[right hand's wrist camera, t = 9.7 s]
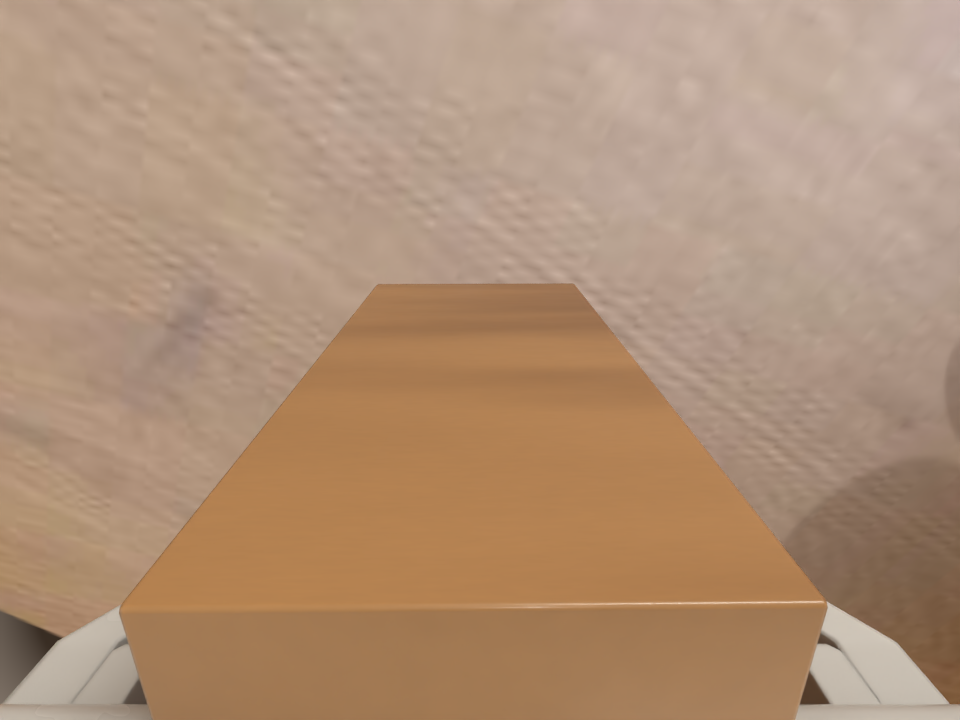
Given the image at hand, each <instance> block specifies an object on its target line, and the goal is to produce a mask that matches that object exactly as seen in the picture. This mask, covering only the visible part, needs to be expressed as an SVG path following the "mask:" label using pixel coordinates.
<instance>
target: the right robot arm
mask: <svg viewBox="0 0 960 720" xmlns="http://www.w3.org/2000/svg"><path fill="white" fill-rule="evenodd" d="M826 602H827V601H826ZM120 606H121V605H119V606H118V607H116V608H114V609H112V610H111V611H109V612H107V613H106V614H104V615H102V616H100V617H99V618H97V619H95V620H93V621H92V622H90V623H88V624H86V625H85V626H83V627H81V628H80V629H78V630H76V631H74V632H73V633H71V634H69V635H67V636H66V637H64V638H62V639H61V640H59V641H57V642H56V643H55V645H54V646H53V647H52V648H51V649H50V650H49V651H48V653H47V654H46V655H45V656H44V657H43V658H42V659H41V660H40V662H39V663H38V664H37V665H36V666H35V667H34V668H33V669H32V671H31V672H30V673H29V674H28V675H27V676H26V677H25V679H24V680H23V681H22V682H21V683H20V684H19V685H18V686H17V688H16V689H15V690H14V691H13V692H12V693H11V694H10V696H9V697H8V698H7V699H6V700H5V701H4V702H3V704H0V720H152V718H151V715H150V712H149V708H148V705H147V702H146V699H145V695H144V692H143V689H142V686H141V683H140V679H139V676H138V673H137V670H136V666H135V663H134V660H133V657H132V654H131V650H130V647H129V644H128V641H127V637H126V634H125V631H124V628H123V625H122V621H121V618H120V615H119V609H120ZM827 606H828V609H827V612H826V616H825V619H824V623H823V626H822V629H821V633H820V636H819V640H818V643H817V647H816V650H815V653H814V657H813V660H812V664H811V667H810V671H809V674H808V677H807V681H806V684H805V688H804V691H803V695H802V698H801V701H800V705H799V708H798V712H797V715H796V719H795V720H960V704H950V703H949V702H948V701H947V700H946V699H945V698H944V697H943V695H942V694H941V693H940V692H939V691H938V690H937V688H936V687H935V686H934V685H933V684H932V683H931V682H930V680H929V679H928V678H927V677H926V676H925V675H924V673H923V672H922V671H921V670H920V669H919V668H918V666H917V665H916V664H915V663H914V662H913V661H912V660H911V658H910V657H909V656H908V655H907V654H906V653H905V651H904V650H903V649H902V648H901V647H900V646H899V644H898V643H897V642H895V641H894V640H892V639H890V638H888V637H887V636H885V635H883V634H882V633H880V632H878V631H877V630H875V629H873V628H871V627H870V626H868V625H866V624H865V623H863V622H861V621H859V620H858V619H856V618H854V617H853V616H851V615H849V614H848V613H846V612H844V611H842V610H841V609H839V608H837V607H836V606H834V605H832V604H830V603H829V602H827Z"/></svg>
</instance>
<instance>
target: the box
mask: <svg viewBox="0 0 960 720" xmlns="http://www.w3.org/2000/svg"><path fill="white" fill-rule="evenodd" d="M827 609H828V606H827V602H826V600H825V598H824V597H823V596H822V595H821V593H820V592H819V591H818V590H817V588H816V587H815V586H814V585H813V583H812V582H811V581H810V580H809V578H808V577H807V576H806V575H805V573H804V572H803V571H802V570H801V568H800V567H799V566H798V565H797V563H796V562H795V561H794V559H793V558H792V557H791V556H790V554H789V553H788V552H787V551H786V549H785V548H784V547H783V546H782V544H781V543H780V542H779V541H778V539H777V538H776V537H775V536H774V534H773V533H772V532H771V531H770V529H769V528H768V527H767V526H766V524H765V523H764V522H763V521H762V519H761V518H760V517H759V516H758V514H757V513H756V512H755V511H754V509H753V508H752V507H751V506H750V504H749V503H748V502H747V501H746V499H745V498H744V497H743V495H742V494H741V493H740V492H739V490H738V489H737V488H736V487H735V485H734V484H733V483H732V482H731V480H730V479H729V478H728V477H727V475H726V474H725V473H724V472H723V470H722V469H721V468H720V467H719V465H718V464H717V463H716V462H715V460H714V459H713V458H712V457H711V455H710V454H709V453H708V452H707V450H706V449H705V448H704V447H703V445H702V444H701V443H700V442H699V440H698V439H697V438H696V436H695V435H694V434H693V433H692V431H691V430H690V429H689V428H688V426H687V425H686V424H685V423H684V421H683V420H682V419H681V418H680V416H679V415H678V414H677V413H676V411H675V410H674V409H673V408H672V406H671V405H670V404H669V403H668V401H667V400H666V399H665V398H664V396H663V395H662V394H661V393H660V391H659V390H658V389H657V388H656V386H655V385H654V384H653V383H652V381H651V380H650V379H649V378H648V376H647V375H646V374H645V372H644V371H643V370H642V369H641V367H640V366H639V365H638V364H637V362H636V361H635V360H634V359H633V357H632V356H631V355H630V354H629V352H628V351H627V350H626V349H625V347H624V346H623V345H622V344H621V342H620V341H619V340H618V339H617V337H616V336H615V335H614V334H613V332H612V331H611V330H610V329H609V327H608V326H607V325H606V324H605V322H604V321H603V320H602V319H601V317H600V316H599V315H598V314H597V312H596V311H595V310H594V308H593V307H592V306H591V305H590V303H589V302H588V301H587V300H586V298H585V297H584V296H583V295H582V293H581V292H580V291H579V290H578V288H577V287H576V286H575V285H574V284H378V285H377V286H376V287H375V288H374V289H373V291H372V292H371V293H370V294H369V296H368V297H367V298H366V299H365V301H364V302H363V303H362V304H361V306H360V307H359V308H358V309H357V311H356V312H355V313H354V314H353V316H352V317H351V318H350V319H349V321H348V322H347V323H346V324H345V326H344V327H343V328H342V329H341V331H340V332H339V333H338V334H337V336H336V337H335V338H334V339H333V341H332V342H331V343H330V344H329V346H328V347H327V348H326V349H325V351H324V352H323V353H322V354H321V356H320V357H319V358H318V359H317V361H316V362H315V363H314V364H313V366H312V367H311V368H310V369H309V371H308V372H307V373H306V374H305V376H304V377H303V378H302V379H301V381H300V382H299V383H298V384H297V386H296V387H295V388H294V389H293V391H292V392H291V393H290V394H289V396H288V397H287V398H286V399H285V401H284V402H283V403H282V404H281V406H280V407H279V408H278V409H277V411H276V412H275V413H274V414H273V416H272V417H271V418H270V419H269V421H268V422H267V423H266V424H265V426H264V427H263V428H262V429H261V431H260V432H259V433H258V434H257V436H256V437H255V438H254V439H253V441H252V442H251V443H250V444H249V446H248V447H247V448H246V449H245V451H244V452H243V453H242V454H241V456H240V457H239V458H238V459H237V461H236V462H235V463H234V464H233V466H232V467H231V468H230V469H229V471H228V472H227V473H226V474H225V476H224V477H223V478H222V479H221V481H220V482H219V483H218V484H217V486H216V487H215V488H214V489H213V491H212V492H211V493H210V494H209V496H208V497H207V498H206V499H205V501H204V502H203V503H202V504H201V506H200V507H199V508H198V509H197V511H196V512H195V513H194V514H193V516H192V517H191V518H190V519H189V521H188V522H187V523H186V524H185V526H184V527H183V528H182V529H181V531H180V532H179V533H178V534H177V536H176V537H175V538H174V539H173V541H172V542H171V543H170V544H169V546H168V547H167V548H166V549H165V551H164V552H163V553H162V554H161V556H160V557H159V558H158V559H157V561H156V562H155V563H154V564H153V566H152V567H151V568H150V569H149V571H148V572H147V573H146V574H145V576H144V577H143V578H142V579H141V581H140V582H139V583H138V584H137V586H136V587H135V588H134V589H133V591H132V592H131V593H130V594H129V596H128V597H127V598H126V599H125V601H124V602H123V603H122V604H121V606H120V609H119V615H120V618H121V621H122V625H123V628H124V631H125V634H126V637H127V641H128V644H129V647H130V650H131V654H132V657H133V660H134V663H135V666H136V670H137V673H138V676H139V679H140V683H141V686H142V689H143V692H144V695H145V699H146V702H147V705H148V708H149V712H150V715H151V718H152V720H795V719H796V715H797V712H798V708H799V705H800V701H801V698H802V695H803V691H804V688H805V684H806V681H807V677H808V674H809V671H810V667H811V664H812V660H813V657H814V653H815V650H816V647H817V643H818V640H819V636H820V633H821V629H822V626H823V623H824V619H825V616H826V612H827Z"/></svg>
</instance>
